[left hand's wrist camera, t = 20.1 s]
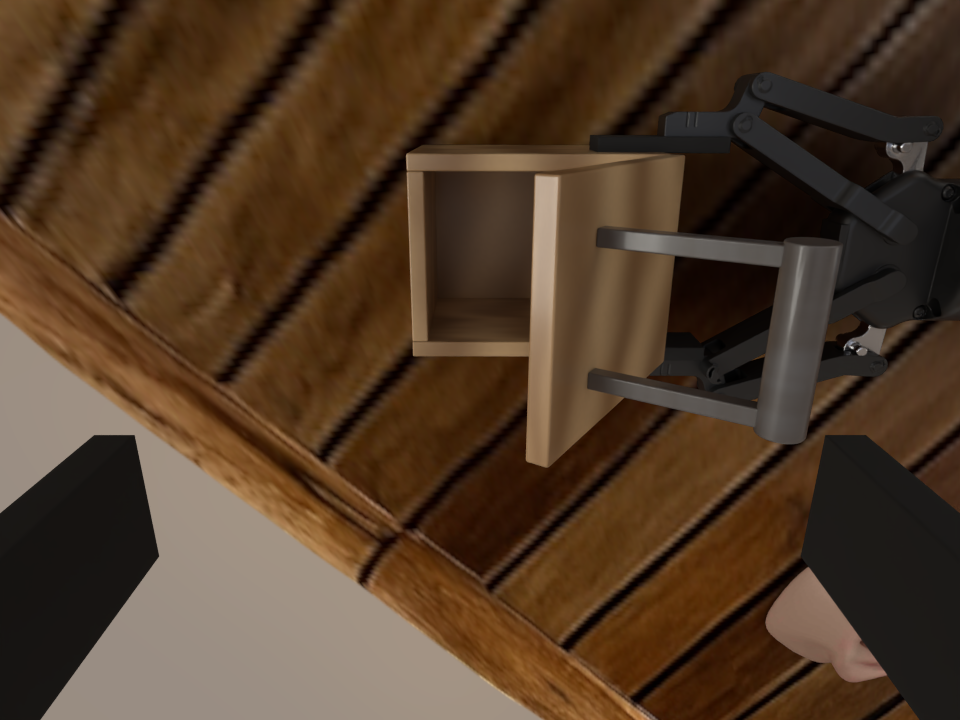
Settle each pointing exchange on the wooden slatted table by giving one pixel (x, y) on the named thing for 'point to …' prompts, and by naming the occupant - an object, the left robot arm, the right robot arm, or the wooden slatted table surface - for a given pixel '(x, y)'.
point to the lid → (652, 306)
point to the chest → (478, 242)
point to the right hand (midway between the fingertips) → (587, 250)
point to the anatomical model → (820, 629)
